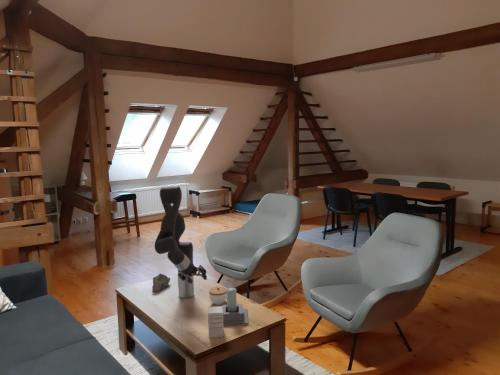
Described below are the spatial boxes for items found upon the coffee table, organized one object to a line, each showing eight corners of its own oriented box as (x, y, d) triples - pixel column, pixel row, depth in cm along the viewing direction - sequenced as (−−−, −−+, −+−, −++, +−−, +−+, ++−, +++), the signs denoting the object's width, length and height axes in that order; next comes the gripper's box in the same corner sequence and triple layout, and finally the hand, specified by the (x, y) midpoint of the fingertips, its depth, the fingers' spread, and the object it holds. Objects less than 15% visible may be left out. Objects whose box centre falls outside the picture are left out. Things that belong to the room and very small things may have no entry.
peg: (227, 314, 214) (226, 287, 212) (236, 314, 214) (236, 287, 212) (227, 318, 209) (226, 291, 207) (237, 318, 209) (236, 291, 207)
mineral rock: (169, 283, 262) (168, 268, 260) (174, 289, 252) (173, 273, 251) (149, 287, 256) (149, 272, 254) (154, 293, 246) (153, 277, 245)
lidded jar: (218, 297, 238) (218, 282, 237) (231, 301, 232) (231, 286, 230) (205, 303, 230) (205, 287, 229) (218, 308, 223) (218, 292, 222)
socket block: (217, 311, 219) (217, 303, 218) (246, 310, 220) (246, 302, 219) (216, 325, 203) (216, 316, 203) (247, 324, 204) (247, 315, 203)
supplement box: (208, 330, 199) (207, 306, 197) (223, 329, 199) (222, 305, 198) (208, 338, 191) (207, 313, 190) (223, 337, 192) (223, 312, 190)
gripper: (196, 254, 203) (211, 271, 213) (172, 261, 207) (188, 277, 217) (194, 266, 197) (210, 283, 208) (170, 273, 202) (186, 289, 212)
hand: (198, 280), depth 212 cm, fingers open, 8 cm apart
